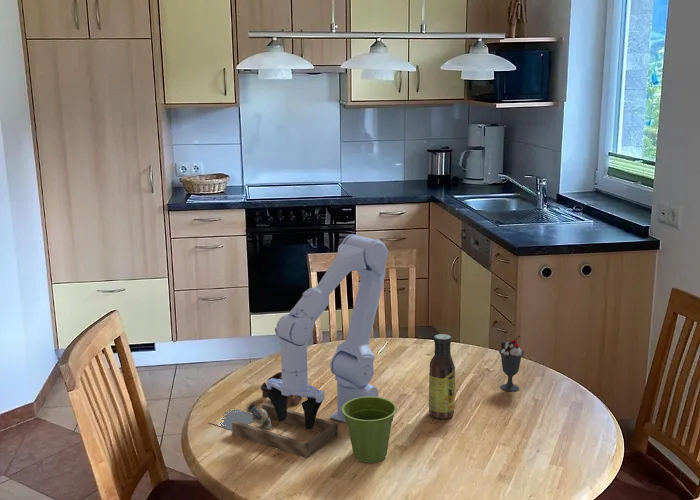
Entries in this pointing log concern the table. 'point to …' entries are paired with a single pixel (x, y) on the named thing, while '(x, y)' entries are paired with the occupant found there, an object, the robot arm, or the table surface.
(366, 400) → the plant pot
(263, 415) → the vase
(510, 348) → the sundae
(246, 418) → the slate coaster
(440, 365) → the sauce bottle
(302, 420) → the walnut tray
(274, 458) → the table surface
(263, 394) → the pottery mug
